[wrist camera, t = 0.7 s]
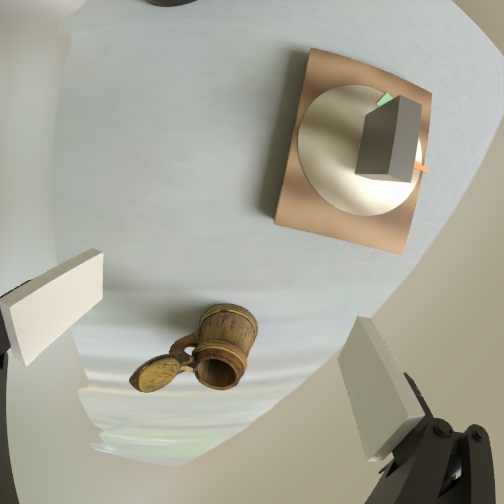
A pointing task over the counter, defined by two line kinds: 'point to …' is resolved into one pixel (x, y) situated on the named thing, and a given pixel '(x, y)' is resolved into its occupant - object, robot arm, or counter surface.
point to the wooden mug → (205, 352)
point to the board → (346, 156)
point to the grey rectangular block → (390, 141)
